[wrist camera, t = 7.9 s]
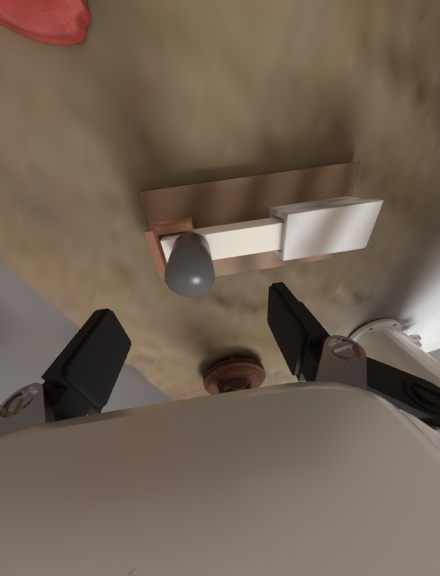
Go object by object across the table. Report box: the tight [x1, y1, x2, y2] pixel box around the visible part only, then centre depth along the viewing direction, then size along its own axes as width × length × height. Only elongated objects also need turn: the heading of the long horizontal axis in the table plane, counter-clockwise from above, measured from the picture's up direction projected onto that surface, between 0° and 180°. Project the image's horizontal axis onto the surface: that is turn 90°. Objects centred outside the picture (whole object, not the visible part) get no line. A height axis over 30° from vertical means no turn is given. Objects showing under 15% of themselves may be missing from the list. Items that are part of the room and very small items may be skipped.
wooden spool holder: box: [203, 354, 266, 395], centre depth 34 cm, size 15×15×20 cm
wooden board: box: [137, 161, 383, 279], centre depth 21 cm, size 26×12×6 cm, turn 97°
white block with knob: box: [160, 217, 285, 297], centre depth 18 cm, size 14×4×9 cm, turn 97°
